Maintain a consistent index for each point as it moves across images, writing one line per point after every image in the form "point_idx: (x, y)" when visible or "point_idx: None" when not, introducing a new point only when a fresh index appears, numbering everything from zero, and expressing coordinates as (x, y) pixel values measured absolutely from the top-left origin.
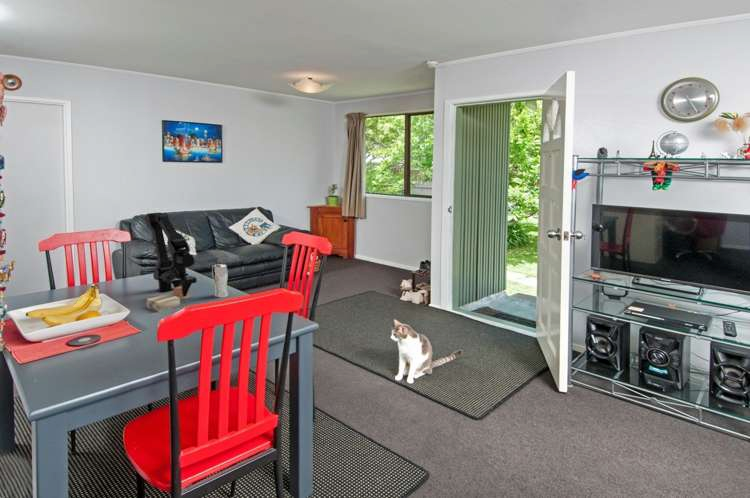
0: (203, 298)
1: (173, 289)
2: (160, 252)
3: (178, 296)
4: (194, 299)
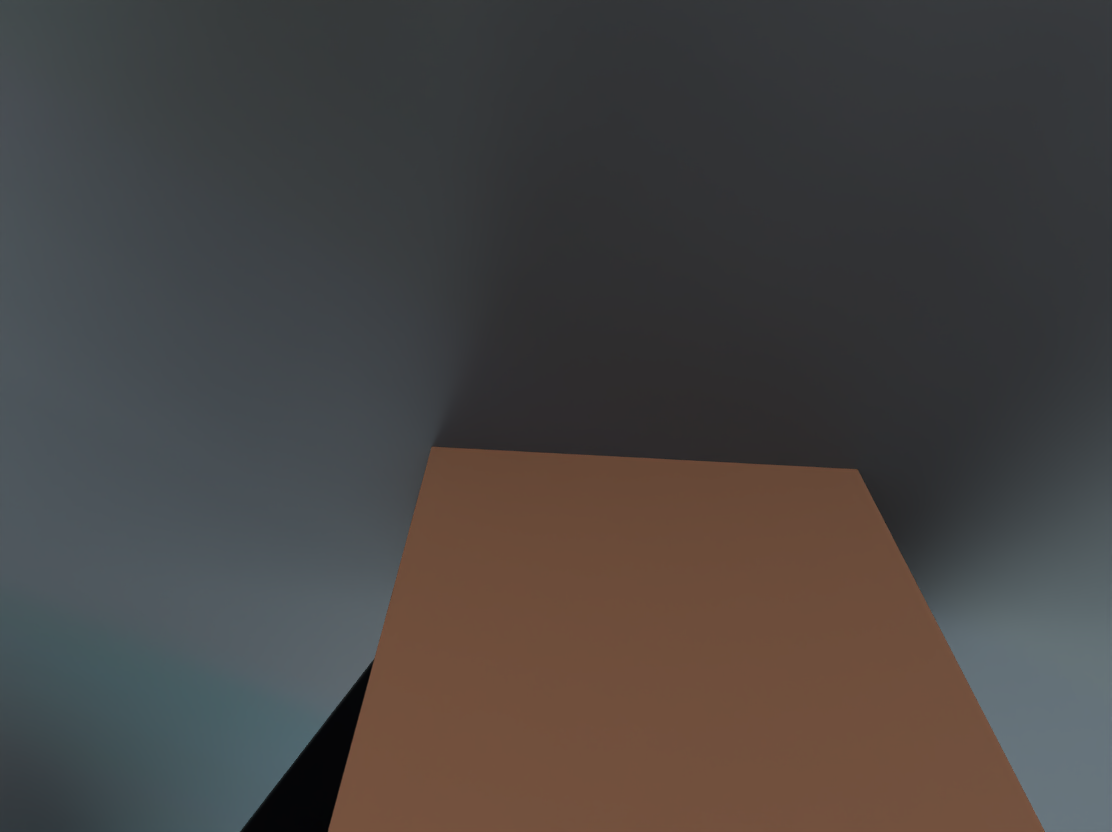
0: (25, 786)
1: (1021, 825)
2: None
3: (502, 530)
4: (80, 661)
